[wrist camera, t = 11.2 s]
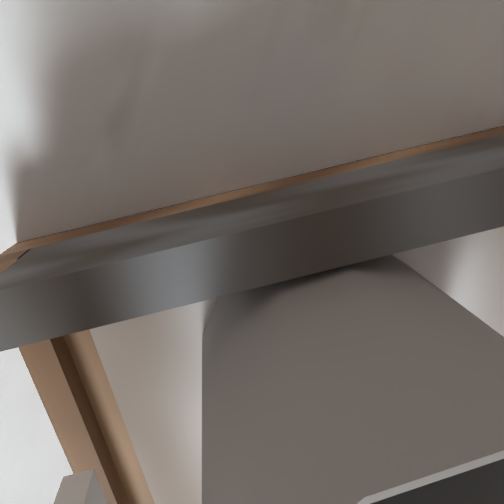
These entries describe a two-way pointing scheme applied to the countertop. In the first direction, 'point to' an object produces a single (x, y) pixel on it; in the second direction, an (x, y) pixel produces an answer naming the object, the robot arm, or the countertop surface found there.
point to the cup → (351, 393)
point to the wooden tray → (227, 293)
